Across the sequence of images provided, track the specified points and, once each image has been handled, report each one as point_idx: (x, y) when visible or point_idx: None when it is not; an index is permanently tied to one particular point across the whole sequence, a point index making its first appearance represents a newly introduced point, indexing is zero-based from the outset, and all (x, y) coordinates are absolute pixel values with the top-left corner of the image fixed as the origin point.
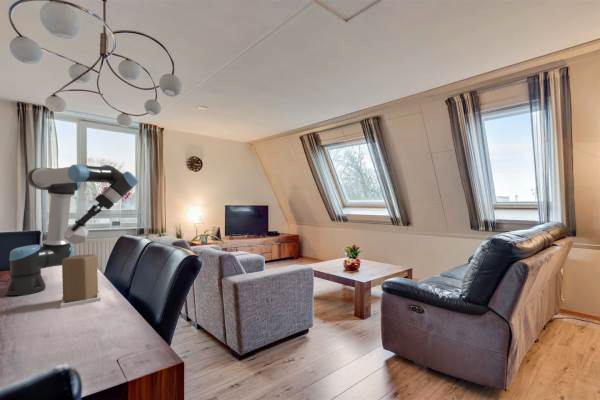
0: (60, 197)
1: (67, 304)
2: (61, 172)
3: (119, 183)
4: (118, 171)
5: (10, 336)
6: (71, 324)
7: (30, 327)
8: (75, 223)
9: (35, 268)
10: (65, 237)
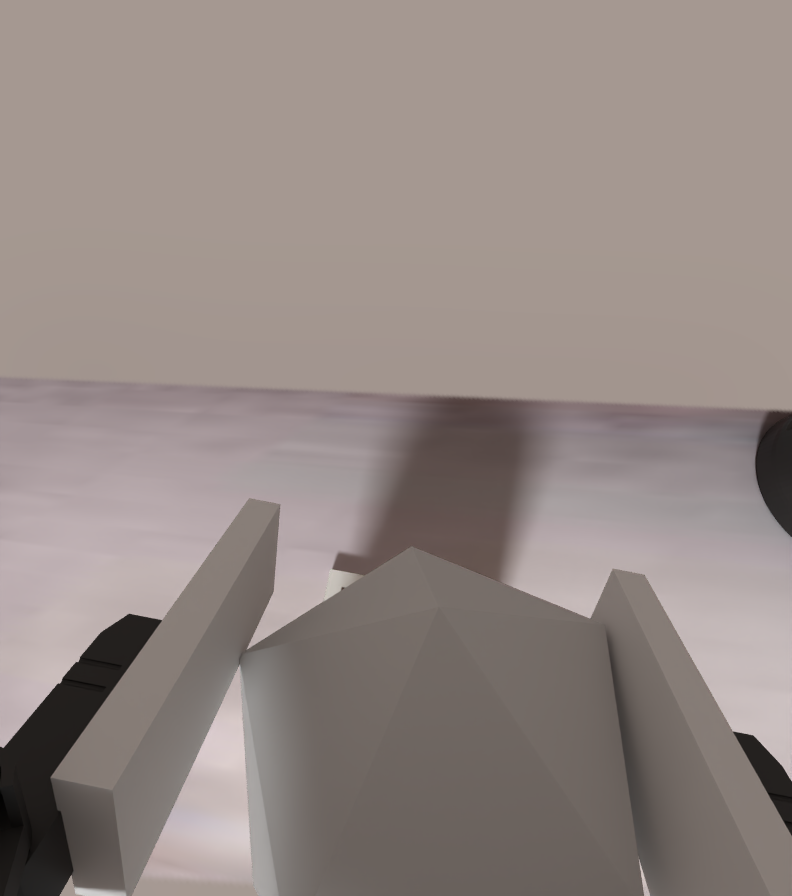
0: None
1: (324, 598)
2: None
3: None
4: None
5: (102, 393)
6: (15, 568)
7: (145, 447)
8: (69, 758)
9: None
10: (387, 563)
